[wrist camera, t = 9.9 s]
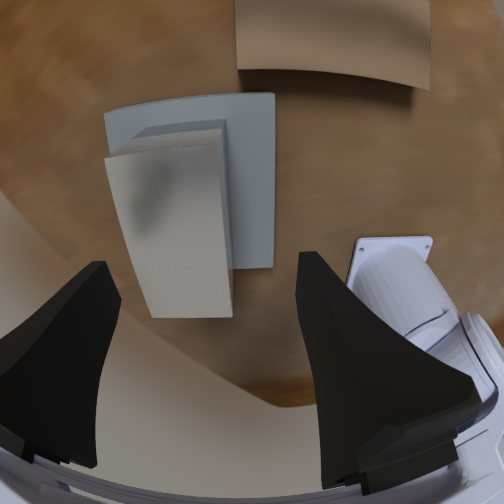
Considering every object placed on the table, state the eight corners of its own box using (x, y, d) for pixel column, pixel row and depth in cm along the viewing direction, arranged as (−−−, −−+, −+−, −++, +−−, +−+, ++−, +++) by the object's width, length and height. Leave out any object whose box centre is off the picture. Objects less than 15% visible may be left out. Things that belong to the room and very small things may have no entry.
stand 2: (413, 87, 14) (429, 90, 13) (237, 70, 14) (237, 69, 13) (413, 1, 10) (428, -3, 9) (234, -27, 10) (233, -37, 9)
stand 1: (270, 251, 22) (273, 267, 21) (147, 256, 22) (141, 272, 21) (271, 92, 15) (274, 94, 14) (116, 108, 15) (103, 113, 13)
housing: (225, 118, 14) (217, 144, 10) (234, 250, 20) (232, 316, 15) (148, 127, 14) (103, 158, 9) (171, 253, 20) (152, 317, 15)
